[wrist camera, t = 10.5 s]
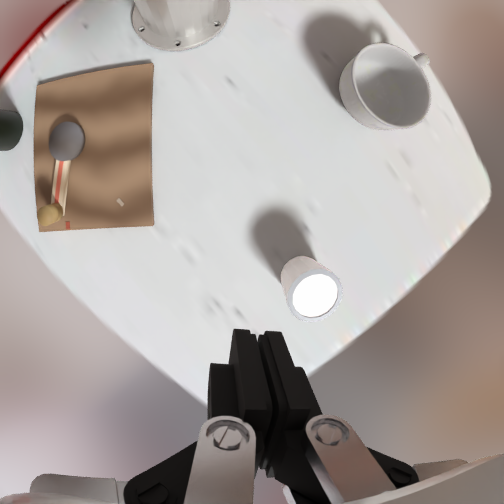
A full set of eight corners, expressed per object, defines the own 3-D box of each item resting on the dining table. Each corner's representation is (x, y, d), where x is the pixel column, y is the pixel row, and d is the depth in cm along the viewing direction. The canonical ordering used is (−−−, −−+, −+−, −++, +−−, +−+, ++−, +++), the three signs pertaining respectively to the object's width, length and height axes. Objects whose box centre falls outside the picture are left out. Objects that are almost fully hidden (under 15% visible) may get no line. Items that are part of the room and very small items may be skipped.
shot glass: (293, 307, 43) (306, 332, 36) (265, 271, 41) (275, 293, 34) (332, 278, 42) (352, 299, 36) (307, 241, 40) (325, 256, 34)
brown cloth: (40, 86, 30) (36, 85, 29) (153, 65, 32) (152, 62, 31) (42, 230, 36) (39, 232, 35) (154, 224, 38) (152, 226, 36)
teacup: (354, 145, 37) (385, 143, 30) (313, 74, 34) (336, 56, 27) (423, 107, 37) (457, 102, 29) (388, 44, 33) (418, 27, 26)
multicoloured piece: (57, 121, 31) (42, 118, 27) (88, 123, 32) (75, 120, 28) (43, 216, 34) (28, 222, 30) (74, 222, 35) (60, 229, 31)
